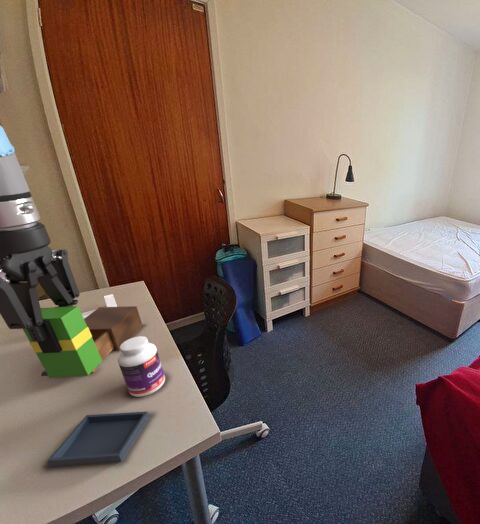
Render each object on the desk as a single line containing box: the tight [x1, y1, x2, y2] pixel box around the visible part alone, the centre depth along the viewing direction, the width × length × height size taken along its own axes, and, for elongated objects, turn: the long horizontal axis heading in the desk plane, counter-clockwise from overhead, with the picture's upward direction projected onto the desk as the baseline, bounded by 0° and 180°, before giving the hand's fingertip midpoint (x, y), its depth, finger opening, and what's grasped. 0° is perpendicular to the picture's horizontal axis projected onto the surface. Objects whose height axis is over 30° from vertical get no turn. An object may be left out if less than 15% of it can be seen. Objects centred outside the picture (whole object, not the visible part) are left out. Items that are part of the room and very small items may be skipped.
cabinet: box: [84, 305, 143, 352], centre depth 90 cm, size 13×12×9 cm
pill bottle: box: [117, 335, 166, 398], centre depth 72 cm, size 8×8×14 cm
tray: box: [47, 411, 150, 468], centre depth 61 cm, size 13×10×2 cm
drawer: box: [41, 331, 115, 377], centre depth 79 cm, size 16×10×7 cm, turn 6°
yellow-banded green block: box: [22, 305, 103, 379], centre depth 54 cm, size 7×4×14 cm, turn 96°
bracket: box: [81, 293, 118, 318], centre depth 100 cm, size 13×7×8 cm, turn 134°
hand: (63, 342), depth 54 cm, fingers closed on yellow-banded green block, 4 cm apart
